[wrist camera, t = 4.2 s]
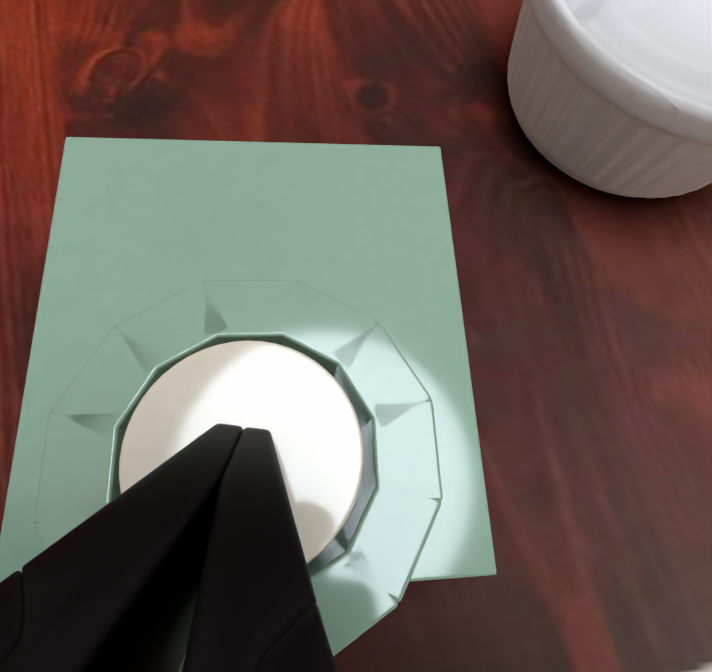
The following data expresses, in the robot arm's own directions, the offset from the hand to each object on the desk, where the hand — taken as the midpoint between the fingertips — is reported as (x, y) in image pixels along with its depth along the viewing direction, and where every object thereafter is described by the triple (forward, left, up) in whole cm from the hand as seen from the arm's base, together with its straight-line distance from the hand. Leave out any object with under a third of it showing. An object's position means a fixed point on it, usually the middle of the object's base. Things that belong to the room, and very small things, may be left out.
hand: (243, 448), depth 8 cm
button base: (+3, 0, -7) cm, 8 cm away
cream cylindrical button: (0, 0, -3) cm, 3 cm away
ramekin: (+14, -14, -7) cm, 21 cm away
